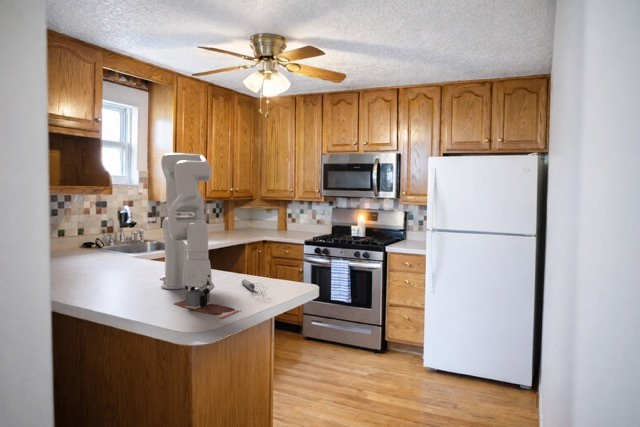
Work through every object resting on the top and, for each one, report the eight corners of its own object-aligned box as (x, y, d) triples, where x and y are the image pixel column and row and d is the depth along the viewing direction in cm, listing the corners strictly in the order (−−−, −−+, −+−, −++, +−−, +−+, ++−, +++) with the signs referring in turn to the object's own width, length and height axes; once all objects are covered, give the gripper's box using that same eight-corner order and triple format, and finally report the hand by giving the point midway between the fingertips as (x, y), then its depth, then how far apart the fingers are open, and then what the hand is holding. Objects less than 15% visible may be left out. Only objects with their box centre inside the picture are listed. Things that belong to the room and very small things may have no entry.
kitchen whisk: (249, 283, 207) (249, 270, 207) (269, 301, 176) (269, 285, 176) (236, 284, 205) (236, 270, 205) (254, 302, 174) (254, 286, 174)
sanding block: (185, 307, 161) (185, 292, 161) (200, 302, 168) (200, 287, 168) (195, 308, 159) (195, 293, 159) (209, 303, 166) (209, 289, 166)
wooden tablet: (237, 311, 162) (237, 307, 162) (216, 318, 154) (216, 313, 154) (189, 300, 178) (189, 296, 177) (168, 305, 169) (168, 301, 169)
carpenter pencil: (219, 319, 151) (219, 317, 151) (239, 310, 161) (239, 308, 161) (221, 319, 151) (221, 317, 151) (241, 311, 161) (241, 309, 161)
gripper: (172, 255, 163) (173, 304, 164) (209, 259, 156) (209, 310, 157) (187, 252, 170) (187, 299, 171) (222, 256, 163) (222, 305, 164)
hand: (198, 304), depth 164 cm, fingers closed on sanding block, 4 cm apart
